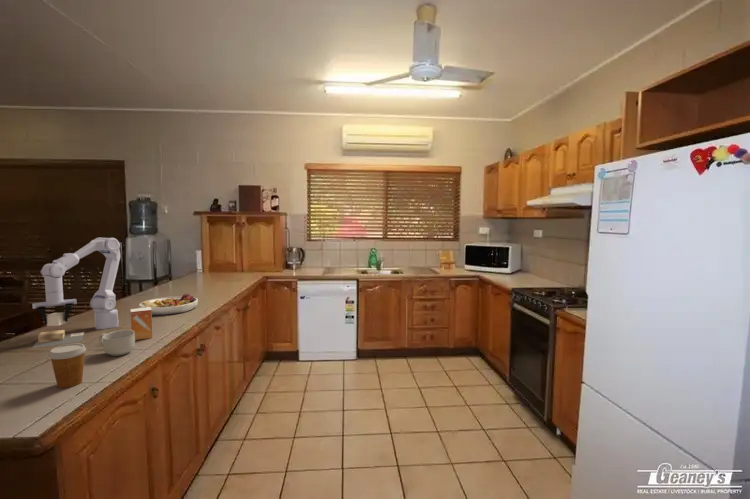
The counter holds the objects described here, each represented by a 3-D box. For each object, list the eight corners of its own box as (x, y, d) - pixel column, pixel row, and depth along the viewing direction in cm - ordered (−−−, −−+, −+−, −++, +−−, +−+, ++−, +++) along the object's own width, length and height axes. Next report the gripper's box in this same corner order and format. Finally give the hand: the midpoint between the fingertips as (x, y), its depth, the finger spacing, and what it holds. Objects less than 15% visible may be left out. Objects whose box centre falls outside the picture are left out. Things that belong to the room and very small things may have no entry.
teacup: (142, 350, 155) (141, 331, 155) (116, 359, 145) (115, 339, 144) (117, 346, 160) (116, 327, 159) (90, 355, 150) (89, 335, 149)
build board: (85, 333, 176) (85, 331, 176) (81, 343, 163) (81, 341, 163) (39, 339, 168) (39, 337, 168) (32, 350, 154) (31, 348, 154)
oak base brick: (65, 336, 170) (64, 329, 170) (63, 339, 165) (62, 333, 165) (41, 339, 166) (41, 332, 166) (38, 343, 161) (38, 336, 161)
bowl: (166, 318, 204) (166, 304, 203) (127, 313, 215) (126, 299, 214) (209, 306, 232) (208, 294, 231) (172, 302, 243) (172, 290, 242)
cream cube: (65, 322, 167) (64, 312, 167) (59, 325, 163) (58, 315, 163) (53, 323, 166) (53, 313, 166) (47, 326, 162) (46, 315, 162)
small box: (131, 341, 167) (130, 311, 166) (131, 337, 172) (129, 308, 171) (153, 338, 171) (151, 309, 170) (152, 334, 176) (150, 306, 175)
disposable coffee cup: (64, 378, 128) (62, 343, 127) (94, 377, 129) (92, 342, 128) (42, 390, 119) (40, 353, 118) (75, 390, 120) (73, 352, 119)
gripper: (75, 288, 171) (77, 317, 172) (31, 292, 162) (34, 323, 163) (76, 290, 166) (77, 321, 167) (31, 294, 156) (33, 327, 158)
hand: (56, 322), depth 165 cm, fingers closed on cream cube, 6 cm apart
